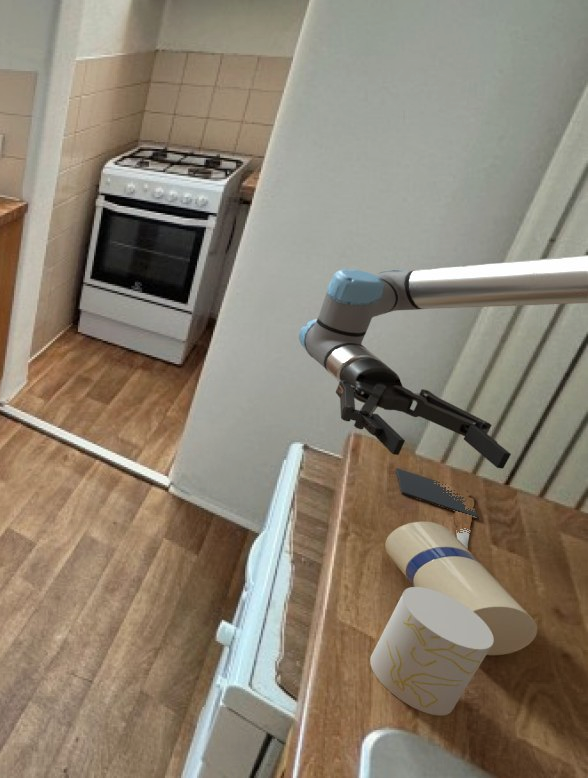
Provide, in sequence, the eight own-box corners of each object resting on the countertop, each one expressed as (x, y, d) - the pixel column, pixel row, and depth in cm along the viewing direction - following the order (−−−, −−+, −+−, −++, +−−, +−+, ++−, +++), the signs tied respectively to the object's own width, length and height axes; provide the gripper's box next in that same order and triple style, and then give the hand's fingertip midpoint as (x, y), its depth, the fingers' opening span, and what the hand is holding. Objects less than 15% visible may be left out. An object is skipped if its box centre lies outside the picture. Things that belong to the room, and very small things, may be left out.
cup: (366, 680, 78) (399, 615, 73) (373, 638, 83) (405, 575, 79) (452, 730, 72) (494, 664, 68) (454, 682, 78) (493, 617, 73)
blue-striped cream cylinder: (524, 660, 80) (548, 611, 77) (445, 650, 82) (465, 602, 79) (445, 569, 93) (462, 524, 90) (378, 562, 95) (393, 518, 92)
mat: (467, 493, 109) (468, 490, 109) (477, 519, 103) (478, 517, 103) (395, 469, 114) (396, 467, 114) (401, 493, 109) (402, 491, 108)
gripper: (433, 401, 108) (537, 486, 88) (281, 383, 112) (348, 461, 92) (450, 365, 105) (561, 446, 85) (293, 349, 109) (365, 421, 90)
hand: (451, 454), depth 89 cm, fingers open, 13 cm apart
